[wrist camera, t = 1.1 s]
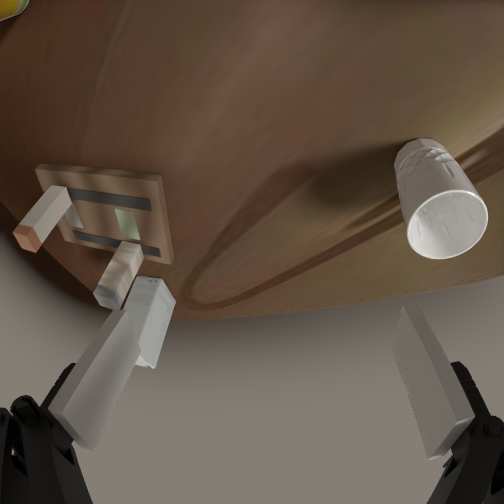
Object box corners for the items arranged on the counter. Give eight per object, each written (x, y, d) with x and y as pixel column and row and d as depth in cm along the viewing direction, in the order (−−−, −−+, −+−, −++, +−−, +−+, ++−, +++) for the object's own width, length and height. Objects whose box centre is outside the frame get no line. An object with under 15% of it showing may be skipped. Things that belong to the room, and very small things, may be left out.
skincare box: (136, 274, 54) (105, 344, 44) (164, 277, 53) (134, 351, 43) (153, 300, 60) (127, 364, 50) (178, 303, 59) (155, 371, 49)
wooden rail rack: (69, 234, 49) (36, 285, 41) (40, 163, 37) (-8, 216, 29) (174, 257, 48) (147, 322, 40) (161, 174, 36) (116, 244, 28)
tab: (57, 201, 40) (22, 248, 33) (51, 185, 37) (12, 232, 31) (72, 203, 39) (36, 252, 33) (66, 186, 37) (26, 236, 30)
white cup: (401, 202, 32) (417, 268, 26) (377, 147, 28) (395, 209, 21) (459, 181, 28) (490, 244, 21) (443, 122, 24) (483, 178, 17)
